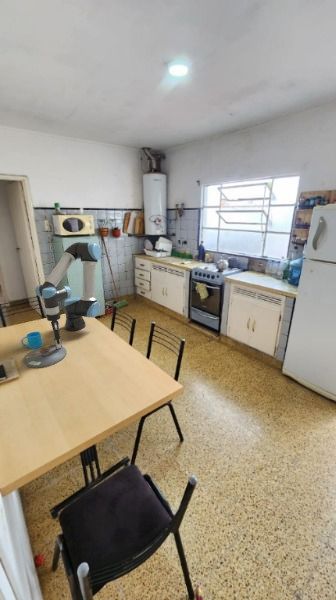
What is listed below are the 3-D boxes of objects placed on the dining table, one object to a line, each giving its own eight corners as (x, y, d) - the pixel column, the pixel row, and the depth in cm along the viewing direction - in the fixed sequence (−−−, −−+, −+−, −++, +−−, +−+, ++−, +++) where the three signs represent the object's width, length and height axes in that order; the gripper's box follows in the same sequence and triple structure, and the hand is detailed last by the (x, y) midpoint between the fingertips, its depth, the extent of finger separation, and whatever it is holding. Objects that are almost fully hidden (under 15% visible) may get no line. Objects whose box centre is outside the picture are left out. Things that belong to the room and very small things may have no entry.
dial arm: (58, 345, 164) (57, 340, 163) (63, 348, 161) (62, 342, 159) (24, 360, 148) (23, 354, 147) (29, 363, 145) (28, 357, 143)
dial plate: (56, 343, 171) (56, 337, 170) (73, 356, 155) (72, 350, 154) (18, 356, 155) (16, 351, 154) (32, 373, 139) (30, 367, 138)
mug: (42, 341, 174) (40, 330, 171) (42, 346, 167) (40, 335, 164) (22, 345, 169) (20, 334, 166) (21, 350, 162) (19, 339, 159)
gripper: (45, 311, 155) (51, 345, 163) (47, 317, 145) (53, 353, 152) (58, 308, 159) (64, 342, 166) (60, 315, 148) (66, 350, 155)
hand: (59, 347), depth 159 cm, fingers closed
